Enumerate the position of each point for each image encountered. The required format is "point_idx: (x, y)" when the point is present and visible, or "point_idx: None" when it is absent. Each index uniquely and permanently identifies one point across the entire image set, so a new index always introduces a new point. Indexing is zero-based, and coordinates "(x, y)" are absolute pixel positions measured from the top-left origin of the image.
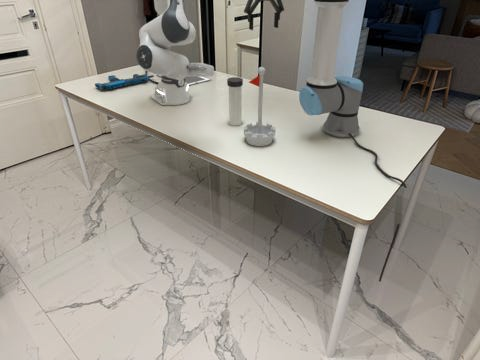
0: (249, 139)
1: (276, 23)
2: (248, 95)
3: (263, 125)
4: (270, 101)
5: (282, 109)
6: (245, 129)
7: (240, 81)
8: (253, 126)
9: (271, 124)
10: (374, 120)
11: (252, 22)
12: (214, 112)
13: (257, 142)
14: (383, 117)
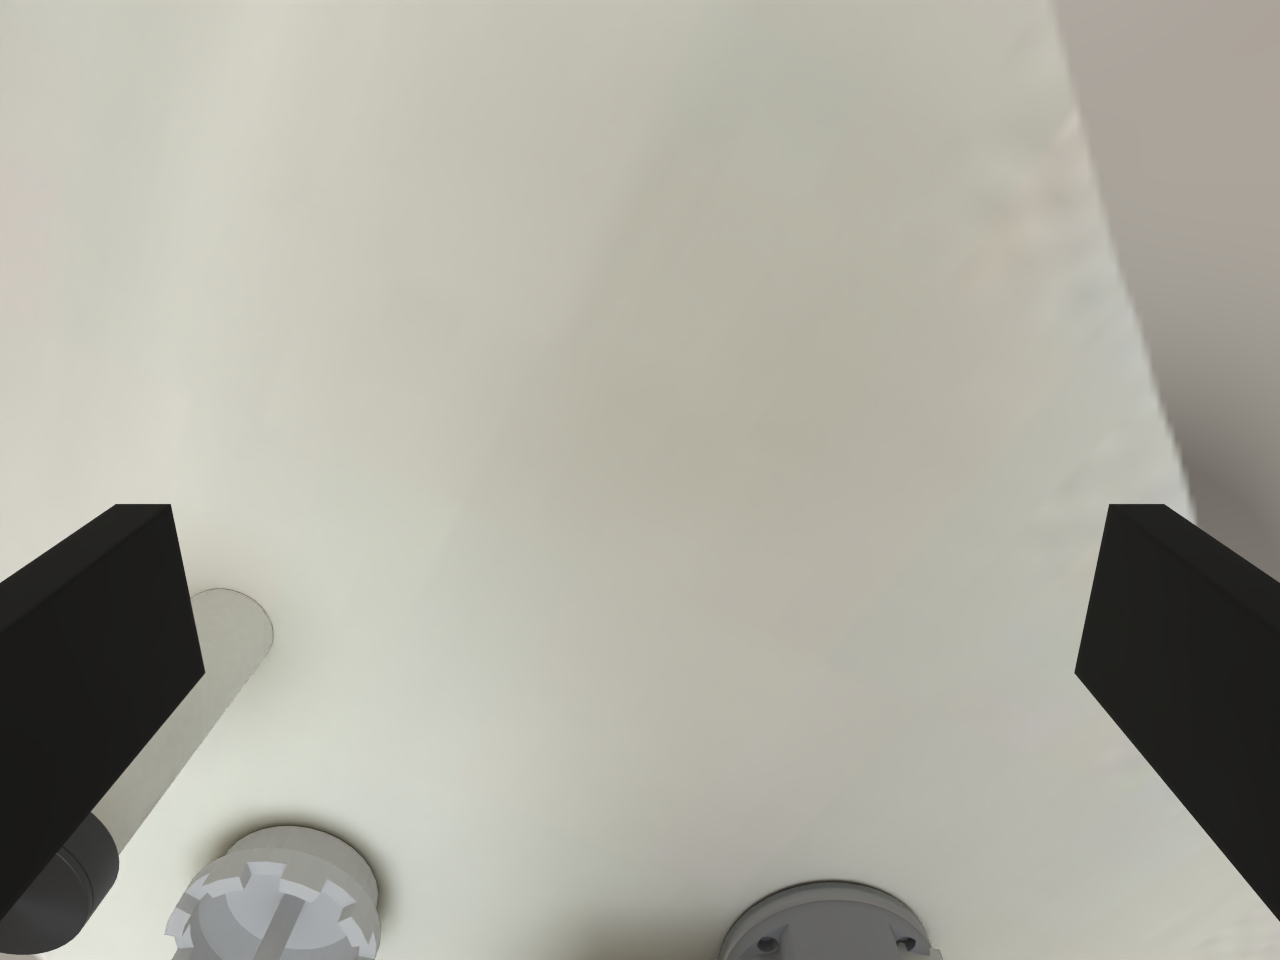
0: (213, 926)
1: (1151, 728)
2: (581, 59)
3: (329, 892)
4: (705, 337)
5: (696, 549)
6: (174, 935)
7: (52, 947)
8: (263, 871)
9: (364, 940)
10: (1130, 937)
11: (35, 835)
12: (105, 365)
13: (253, 955)
14: (1224, 928)
